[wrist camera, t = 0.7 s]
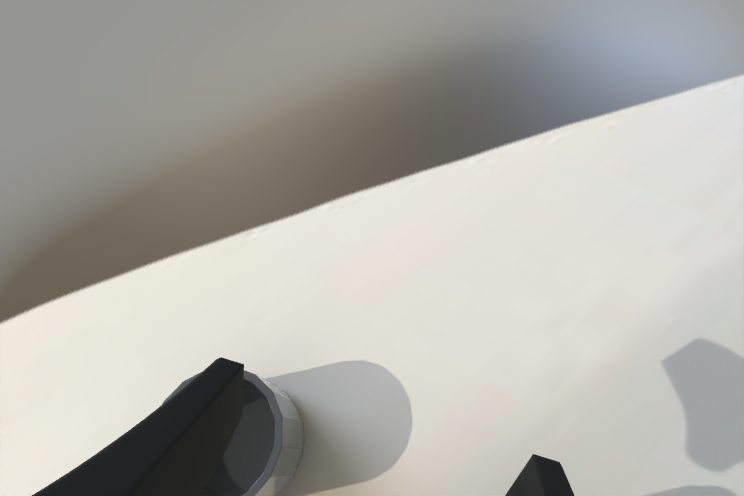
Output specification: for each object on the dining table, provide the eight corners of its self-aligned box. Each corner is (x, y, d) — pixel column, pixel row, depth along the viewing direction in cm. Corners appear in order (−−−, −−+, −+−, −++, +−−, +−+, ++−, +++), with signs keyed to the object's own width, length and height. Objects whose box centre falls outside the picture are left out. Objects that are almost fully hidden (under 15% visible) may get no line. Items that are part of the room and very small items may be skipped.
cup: (304, 502, 24) (281, 512, 20) (185, 512, 25) (135, 523, 20) (304, 378, 27) (283, 361, 23) (198, 387, 28) (157, 373, 23)
